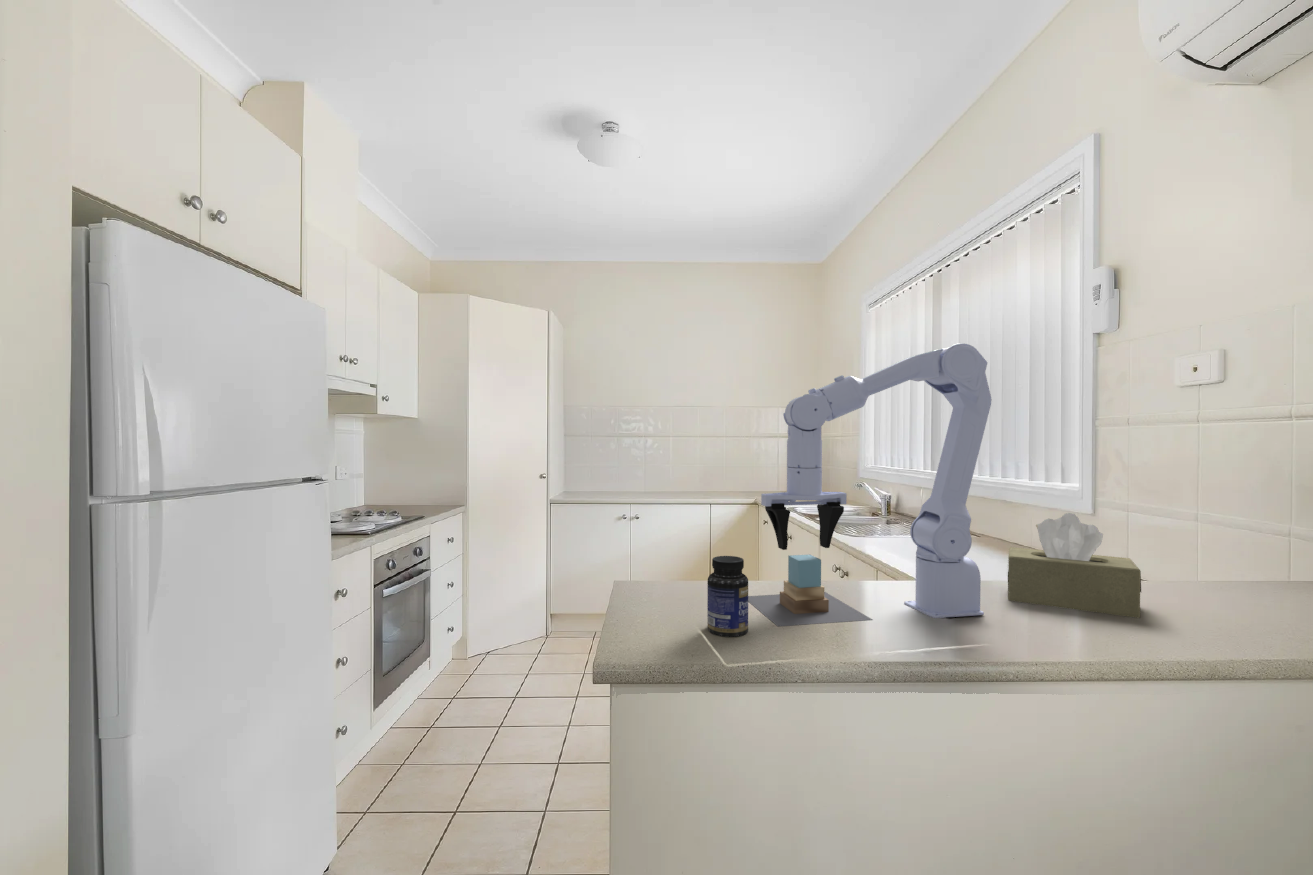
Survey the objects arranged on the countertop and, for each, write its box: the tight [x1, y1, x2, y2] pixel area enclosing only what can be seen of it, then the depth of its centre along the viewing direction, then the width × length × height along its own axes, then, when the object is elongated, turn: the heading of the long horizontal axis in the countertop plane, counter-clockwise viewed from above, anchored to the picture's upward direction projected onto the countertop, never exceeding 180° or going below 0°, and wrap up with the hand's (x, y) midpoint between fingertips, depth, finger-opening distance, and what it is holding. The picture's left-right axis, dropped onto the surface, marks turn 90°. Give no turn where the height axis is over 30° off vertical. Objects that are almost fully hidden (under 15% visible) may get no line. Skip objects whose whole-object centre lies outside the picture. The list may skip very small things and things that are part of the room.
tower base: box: [779, 590, 829, 614], centre depth 99 cm, size 6×6×2 cm
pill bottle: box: [706, 555, 749, 638], centre depth 88 cm, size 6×6×11 cm
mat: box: [748, 591, 874, 628], centre depth 99 cm, size 16×16×1 cm
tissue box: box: [1006, 512, 1142, 619], centre depth 103 cm, size 19×10×16 cm, turn 58°
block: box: [787, 553, 822, 588], centre depth 98 cm, size 4×4×4 cm
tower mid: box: [783, 580, 825, 601], centre depth 99 cm, size 5×5×2 cm
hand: (803, 547), depth 98 cm, fingers open, 7 cm apart
